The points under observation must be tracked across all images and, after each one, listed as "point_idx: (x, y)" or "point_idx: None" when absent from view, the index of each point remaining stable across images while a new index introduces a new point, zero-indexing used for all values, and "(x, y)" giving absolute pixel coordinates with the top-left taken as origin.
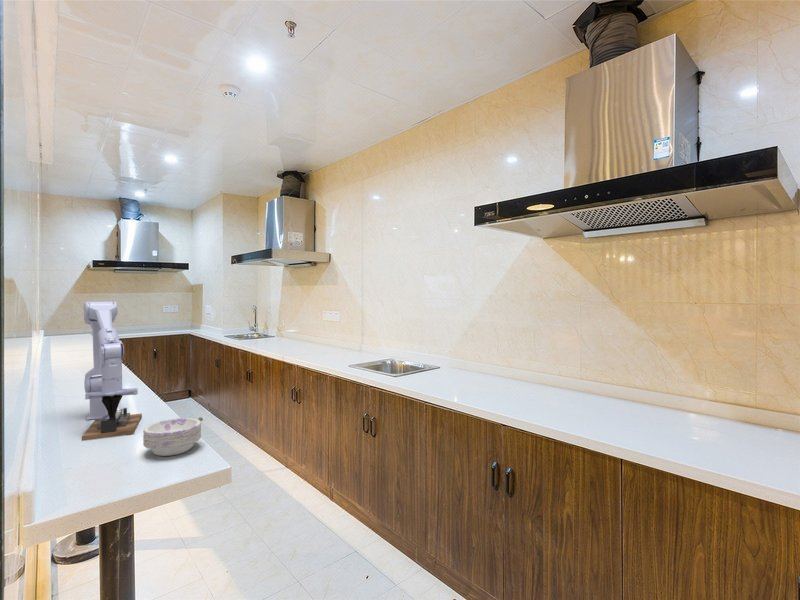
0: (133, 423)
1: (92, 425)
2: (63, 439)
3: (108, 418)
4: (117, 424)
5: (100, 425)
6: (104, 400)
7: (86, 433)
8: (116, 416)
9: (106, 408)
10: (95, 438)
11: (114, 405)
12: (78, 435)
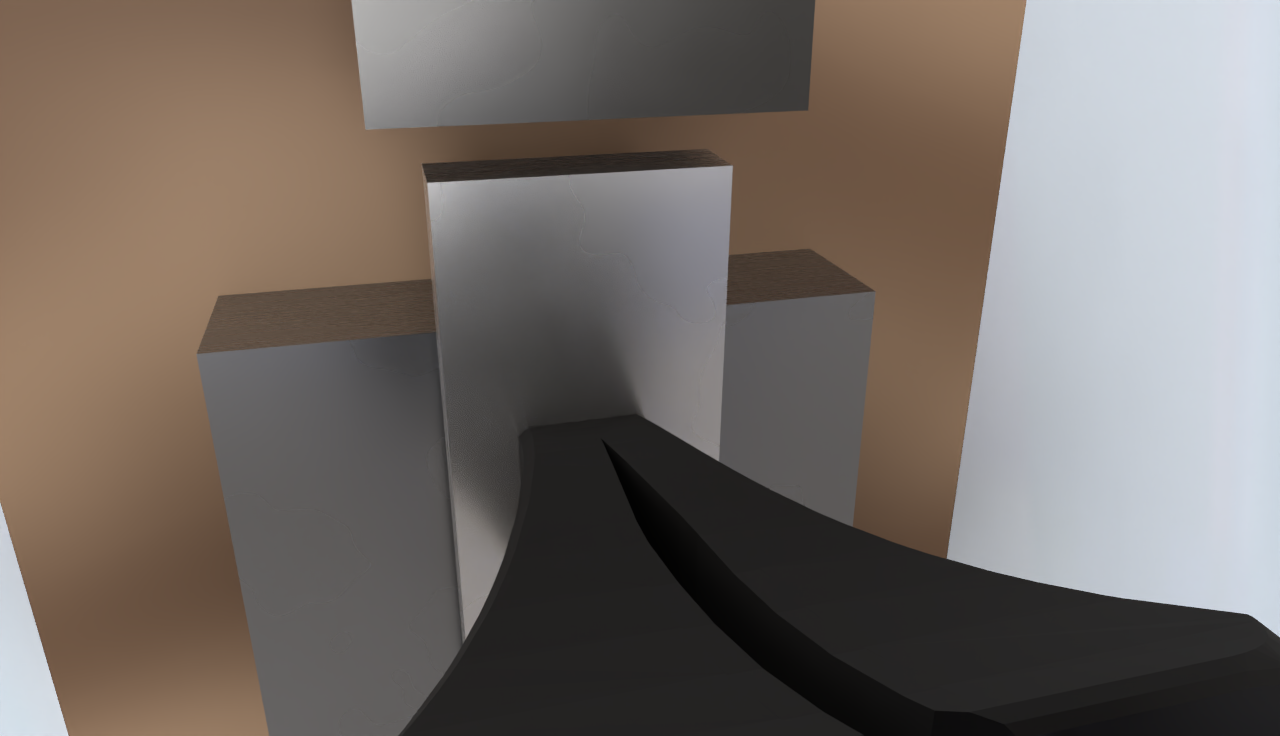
0: (89, 498)
1: None
2: (1231, 138)
3: (665, 392)
4: (407, 308)
5: (782, 282)
6: (1245, 662)
7: (972, 49)
8: (491, 549)
9: (856, 530)
10: None
11: (585, 621)
12: (1044, 285)
